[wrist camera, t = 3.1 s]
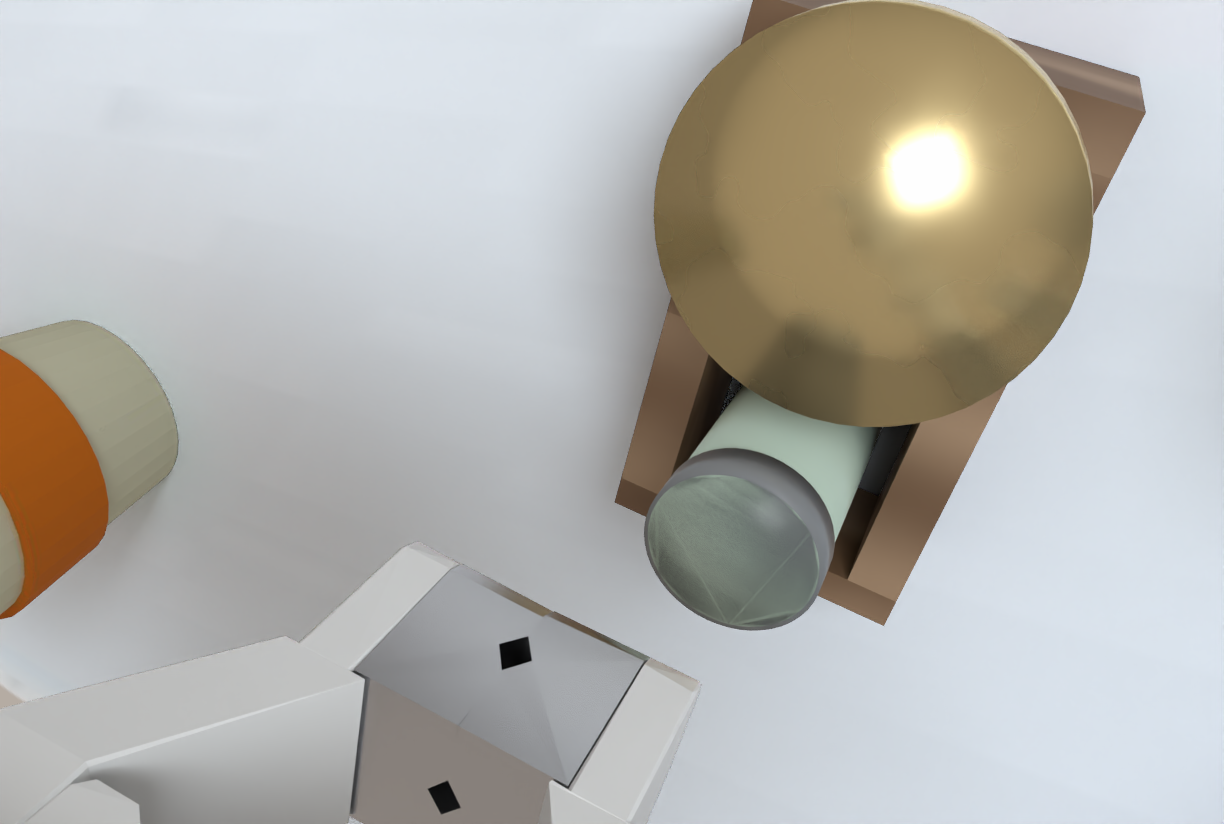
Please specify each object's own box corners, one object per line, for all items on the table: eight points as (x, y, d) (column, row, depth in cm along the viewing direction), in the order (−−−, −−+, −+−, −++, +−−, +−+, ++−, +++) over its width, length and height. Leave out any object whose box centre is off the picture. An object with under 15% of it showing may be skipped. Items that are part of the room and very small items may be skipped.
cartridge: (866, 471, 33) (789, 658, 25) (739, 418, 34) (626, 581, 26) (917, 354, 31) (850, 521, 23) (779, 301, 32) (668, 441, 24)
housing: (910, 537, 33) (883, 625, 29) (670, 433, 36) (614, 502, 32) (1139, 76, 25) (1145, 112, 21) (807, -23, 27) (755, -8, 23)
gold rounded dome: (999, 380, 27) (976, 487, 22) (698, 264, 29) (616, 338, 24) (1169, 43, 22) (1188, 86, 17) (792, -66, 24) (714, -55, 19)
